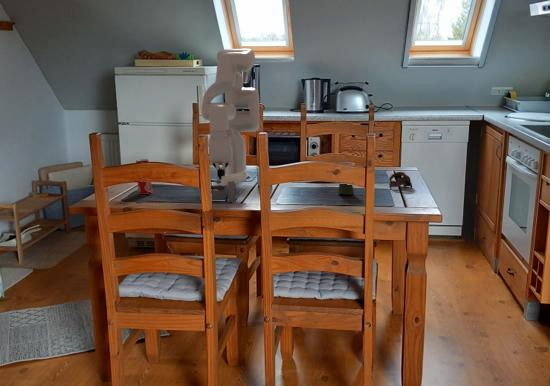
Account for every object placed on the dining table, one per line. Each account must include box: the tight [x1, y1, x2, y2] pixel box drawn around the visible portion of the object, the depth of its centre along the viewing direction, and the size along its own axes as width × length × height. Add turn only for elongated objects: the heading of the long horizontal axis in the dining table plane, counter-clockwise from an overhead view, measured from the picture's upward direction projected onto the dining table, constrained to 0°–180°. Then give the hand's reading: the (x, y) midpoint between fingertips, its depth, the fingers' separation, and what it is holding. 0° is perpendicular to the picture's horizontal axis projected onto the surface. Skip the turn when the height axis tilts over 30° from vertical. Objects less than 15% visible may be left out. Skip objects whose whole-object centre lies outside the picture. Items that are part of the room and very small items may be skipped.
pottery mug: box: [388, 171, 413, 190], centre depth 252 cm, size 12×10×8 cm
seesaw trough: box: [216, 168, 249, 186], centre depth 241 cm, size 13×13×3 cm
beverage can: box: [135, 158, 153, 195], centre depth 250 cm, size 6×6×15 cm
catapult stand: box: [226, 181, 239, 203], centre depth 239 cm, size 14×4×8 cm, turn 1°
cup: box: [211, 180, 228, 200], centre depth 239 cm, size 9×7×8 cm
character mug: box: [338, 161, 356, 196], centre depth 241 cm, size 11×7×13 cm, turn 172°
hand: (221, 178), depth 245 cm, fingers closed
